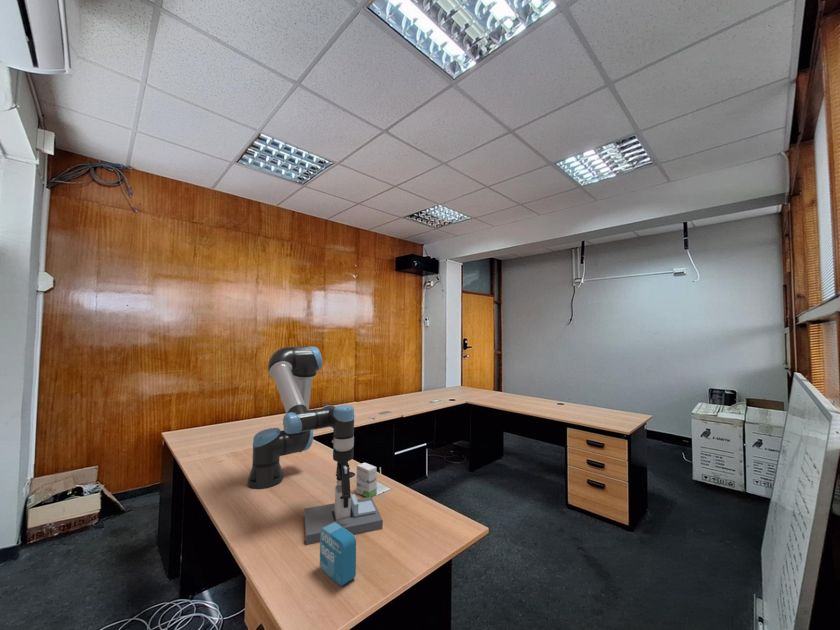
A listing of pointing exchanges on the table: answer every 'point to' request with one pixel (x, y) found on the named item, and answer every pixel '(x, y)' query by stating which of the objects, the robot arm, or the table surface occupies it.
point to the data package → (338, 553)
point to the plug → (339, 503)
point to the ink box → (366, 480)
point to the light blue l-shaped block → (361, 507)
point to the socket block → (338, 521)
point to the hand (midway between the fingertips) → (342, 506)
